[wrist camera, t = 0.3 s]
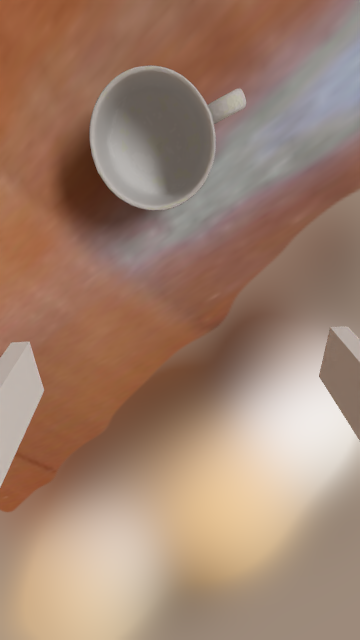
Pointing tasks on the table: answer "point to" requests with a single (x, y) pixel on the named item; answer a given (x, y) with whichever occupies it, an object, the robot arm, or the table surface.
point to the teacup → (156, 136)
